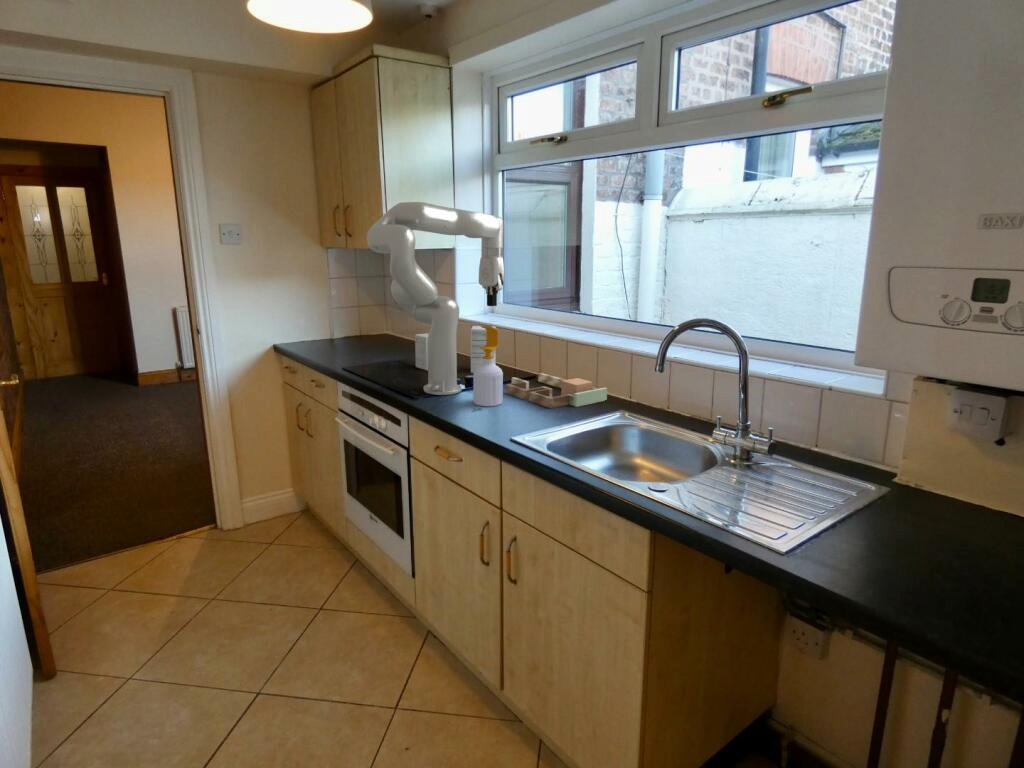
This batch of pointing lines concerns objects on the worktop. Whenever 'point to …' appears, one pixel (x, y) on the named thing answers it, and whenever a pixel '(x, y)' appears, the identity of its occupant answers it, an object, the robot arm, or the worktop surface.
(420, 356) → the small box
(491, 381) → the soap bottle
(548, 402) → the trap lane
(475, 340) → the supplement box
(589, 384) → the block
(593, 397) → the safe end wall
